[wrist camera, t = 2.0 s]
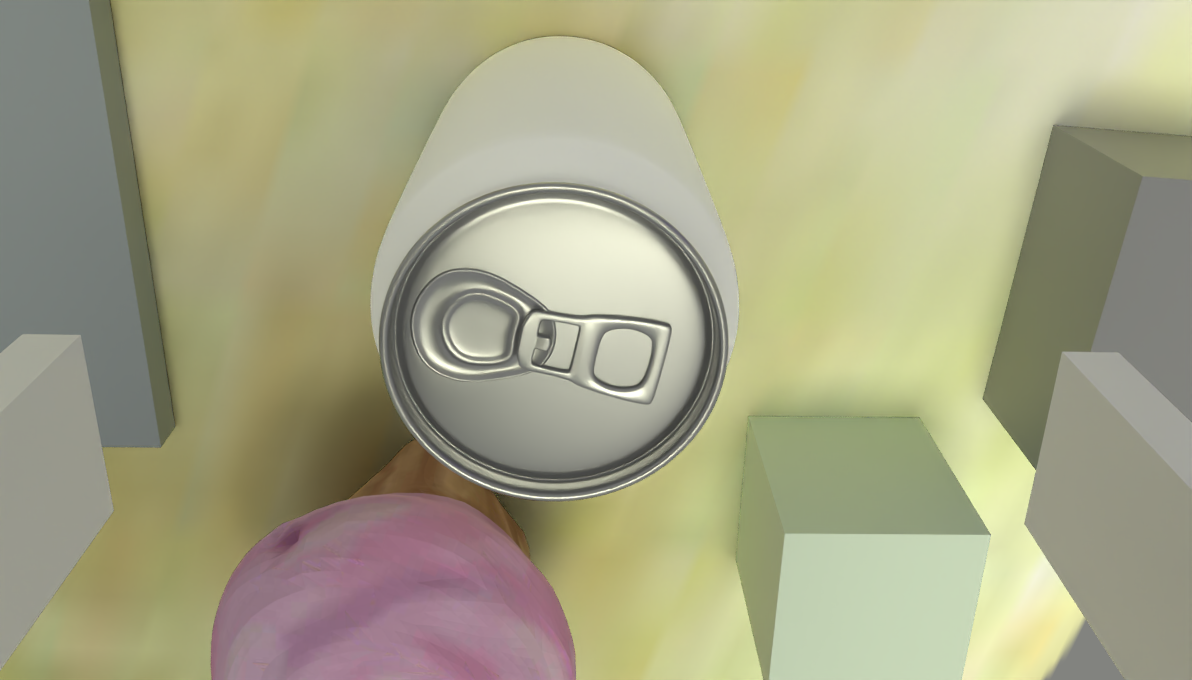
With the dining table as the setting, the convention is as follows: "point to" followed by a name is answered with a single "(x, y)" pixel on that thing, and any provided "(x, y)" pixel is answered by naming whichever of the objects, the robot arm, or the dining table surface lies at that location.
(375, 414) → the dining table surface
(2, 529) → the robot arm
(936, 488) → the sage block
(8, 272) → the board
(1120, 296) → the charcoal block
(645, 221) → the can
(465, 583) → the cupcake
